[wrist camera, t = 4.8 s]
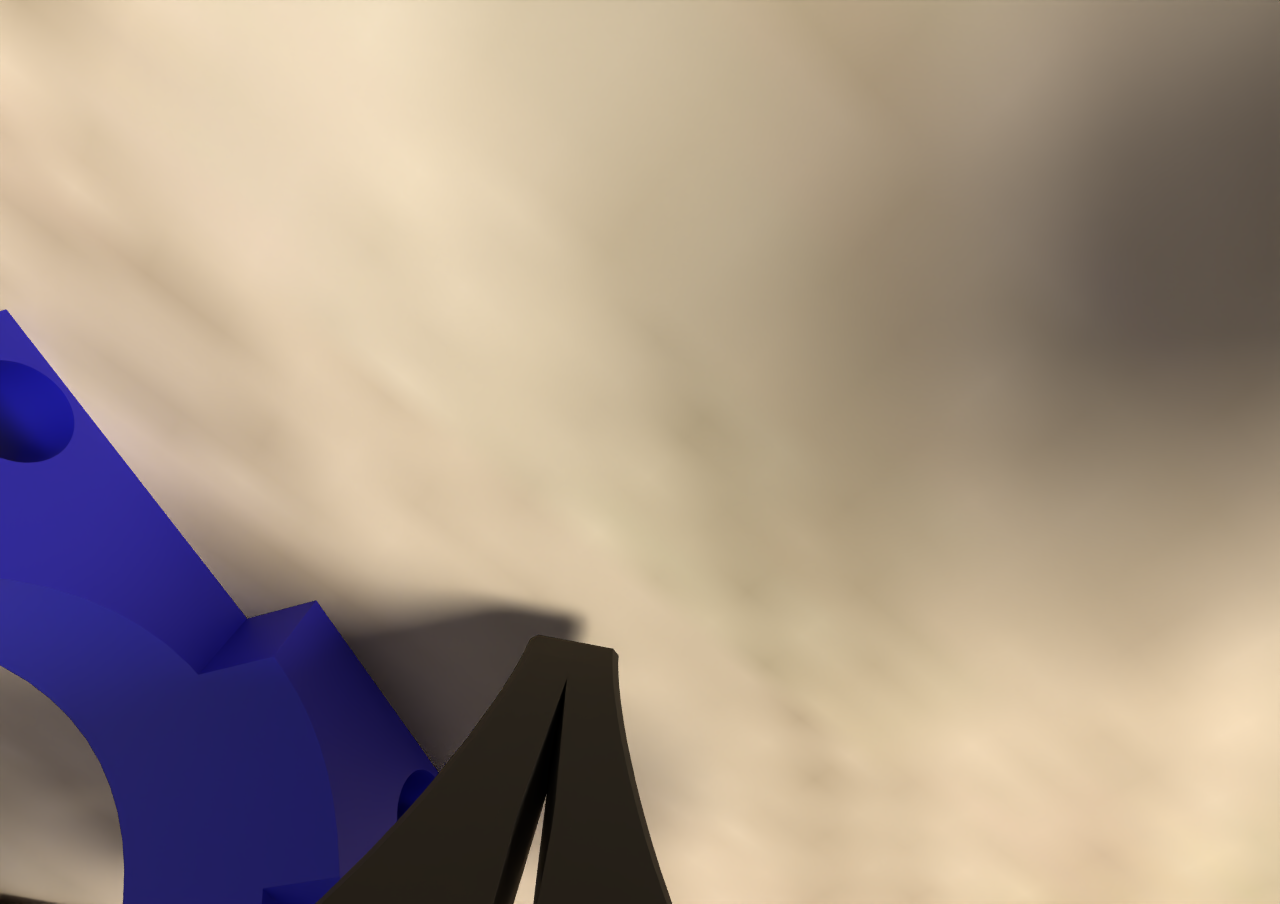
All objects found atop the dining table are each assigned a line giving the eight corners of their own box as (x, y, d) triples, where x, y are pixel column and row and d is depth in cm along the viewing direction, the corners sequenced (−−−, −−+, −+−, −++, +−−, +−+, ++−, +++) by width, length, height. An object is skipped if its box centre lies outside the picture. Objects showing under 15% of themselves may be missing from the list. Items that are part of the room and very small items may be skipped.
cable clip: (469, 806, 14) (337, 1215, 9) (296, 835, 15) (87, 1219, 10) (92, 273, 10) (-671, 492, 4) (-127, 367, 10) (-969, 640, 5)
